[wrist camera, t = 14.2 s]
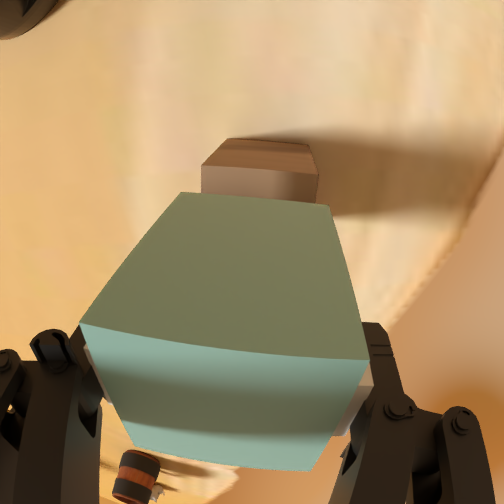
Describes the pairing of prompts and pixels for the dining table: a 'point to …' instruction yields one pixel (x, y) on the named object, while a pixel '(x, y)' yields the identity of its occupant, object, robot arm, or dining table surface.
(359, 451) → the robot arm
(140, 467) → the mug
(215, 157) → the walnut block
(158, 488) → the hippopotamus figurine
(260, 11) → the dining table surface
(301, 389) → the teal block
